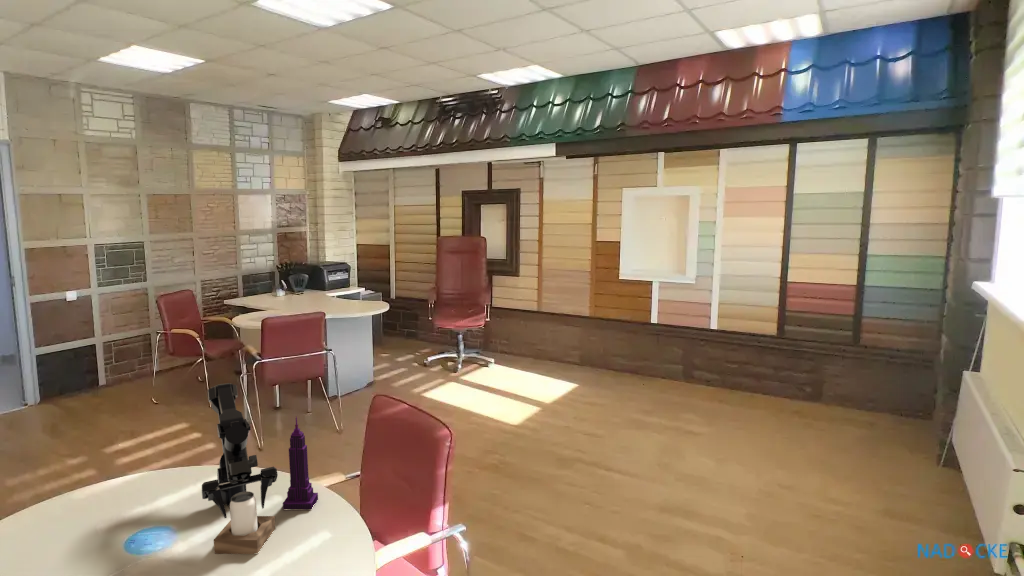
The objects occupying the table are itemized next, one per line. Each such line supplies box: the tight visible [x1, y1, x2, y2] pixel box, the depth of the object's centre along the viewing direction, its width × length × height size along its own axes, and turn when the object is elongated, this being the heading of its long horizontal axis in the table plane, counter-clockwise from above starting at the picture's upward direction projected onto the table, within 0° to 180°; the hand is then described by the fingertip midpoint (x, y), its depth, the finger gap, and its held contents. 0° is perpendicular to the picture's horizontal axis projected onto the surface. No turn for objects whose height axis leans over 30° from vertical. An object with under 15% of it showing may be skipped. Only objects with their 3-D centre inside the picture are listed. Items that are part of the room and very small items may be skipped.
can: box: [229, 490, 258, 536], centre depth 155 cm, size 6×6×12 cm
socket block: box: [213, 515, 276, 555], centre depth 155 cm, size 11×11×4 cm
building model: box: [282, 417, 319, 510], centre depth 172 cm, size 9×6×30 cm
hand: (244, 512), depth 153 cm, fingers open, 9 cm apart
